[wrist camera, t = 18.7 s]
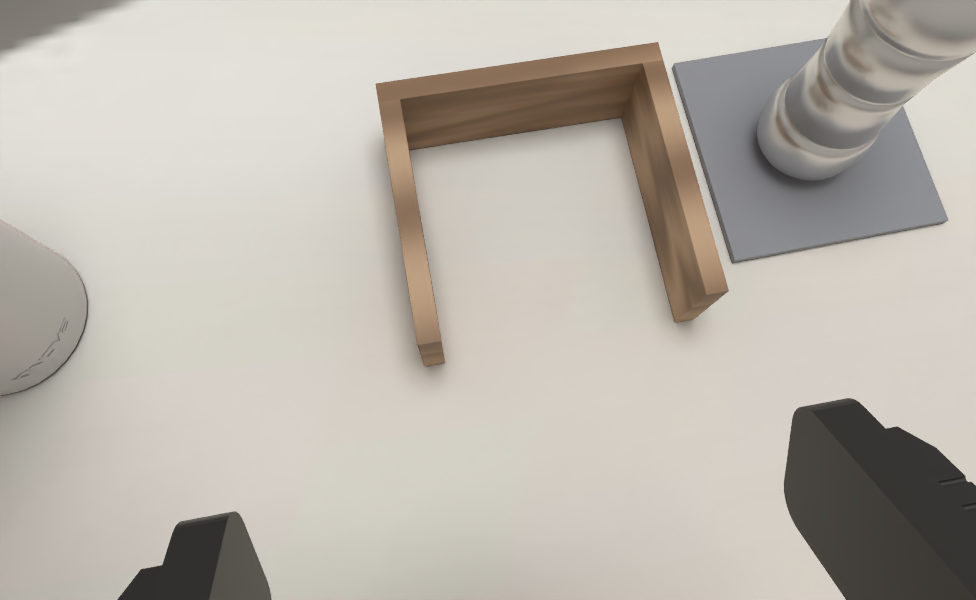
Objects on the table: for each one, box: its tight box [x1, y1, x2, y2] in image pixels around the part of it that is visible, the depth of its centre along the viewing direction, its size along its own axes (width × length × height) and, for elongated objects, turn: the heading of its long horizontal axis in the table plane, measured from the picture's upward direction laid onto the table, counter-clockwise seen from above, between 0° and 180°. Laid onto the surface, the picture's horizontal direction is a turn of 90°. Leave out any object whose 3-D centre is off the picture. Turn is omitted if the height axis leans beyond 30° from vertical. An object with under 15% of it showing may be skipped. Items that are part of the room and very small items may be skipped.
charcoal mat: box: [672, 38, 948, 263], centre depth 46 cm, size 14×14×1 cm
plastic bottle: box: [757, 0, 976, 181], centre depth 36 cm, size 6×7×20 cm
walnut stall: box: [376, 42, 729, 366], centre depth 41 cm, size 15×16×6 cm
